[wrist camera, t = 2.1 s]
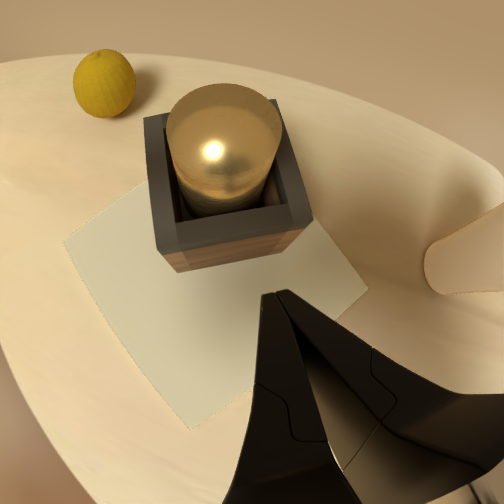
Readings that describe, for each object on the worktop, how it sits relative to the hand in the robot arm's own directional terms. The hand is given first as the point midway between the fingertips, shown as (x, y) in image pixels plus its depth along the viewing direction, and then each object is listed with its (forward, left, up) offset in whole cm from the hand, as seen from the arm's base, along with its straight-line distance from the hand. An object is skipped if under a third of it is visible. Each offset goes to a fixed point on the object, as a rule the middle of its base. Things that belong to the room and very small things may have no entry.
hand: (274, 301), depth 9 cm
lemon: (+22, -1, -14) cm, 26 cm away
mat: (+4, 0, -14) cm, 14 cm away
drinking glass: (-9, -17, -14) cm, 24 cm away
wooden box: (+7, -3, -14) cm, 16 cm away
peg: (+7, -3, -10) cm, 13 cm away
